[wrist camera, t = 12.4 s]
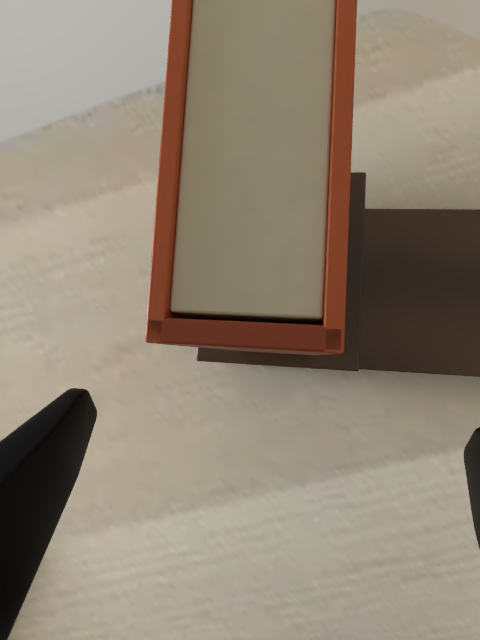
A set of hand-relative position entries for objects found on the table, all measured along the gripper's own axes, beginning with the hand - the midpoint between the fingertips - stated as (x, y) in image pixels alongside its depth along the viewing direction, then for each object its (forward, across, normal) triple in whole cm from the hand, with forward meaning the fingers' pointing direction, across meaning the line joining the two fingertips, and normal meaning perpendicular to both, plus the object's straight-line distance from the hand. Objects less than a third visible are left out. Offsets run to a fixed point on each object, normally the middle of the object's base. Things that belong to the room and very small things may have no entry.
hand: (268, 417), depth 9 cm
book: (+8, 0, +1) cm, 8 cm away
